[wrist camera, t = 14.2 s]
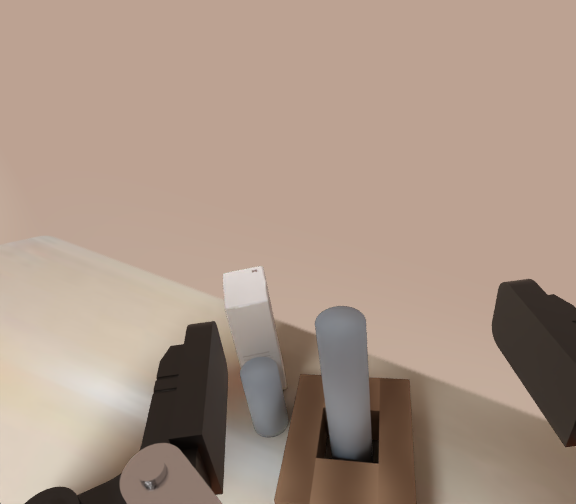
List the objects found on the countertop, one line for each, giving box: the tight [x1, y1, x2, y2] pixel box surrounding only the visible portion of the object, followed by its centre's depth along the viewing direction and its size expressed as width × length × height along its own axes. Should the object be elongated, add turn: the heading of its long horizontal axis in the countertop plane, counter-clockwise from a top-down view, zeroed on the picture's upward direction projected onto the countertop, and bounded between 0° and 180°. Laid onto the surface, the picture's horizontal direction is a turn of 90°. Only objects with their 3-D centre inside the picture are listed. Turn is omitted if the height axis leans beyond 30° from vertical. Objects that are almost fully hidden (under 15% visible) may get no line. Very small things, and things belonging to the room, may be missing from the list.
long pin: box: [315, 306, 373, 463], centre depth 34 cm, size 3×3×16 cm
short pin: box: [240, 357, 288, 437], centre depth 41 cm, size 3×3×7 cm
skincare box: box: [223, 266, 287, 390], centre depth 45 cm, size 6×4×12 cm
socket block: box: [274, 374, 416, 504], centre depth 37 cm, size 10×12×4 cm
